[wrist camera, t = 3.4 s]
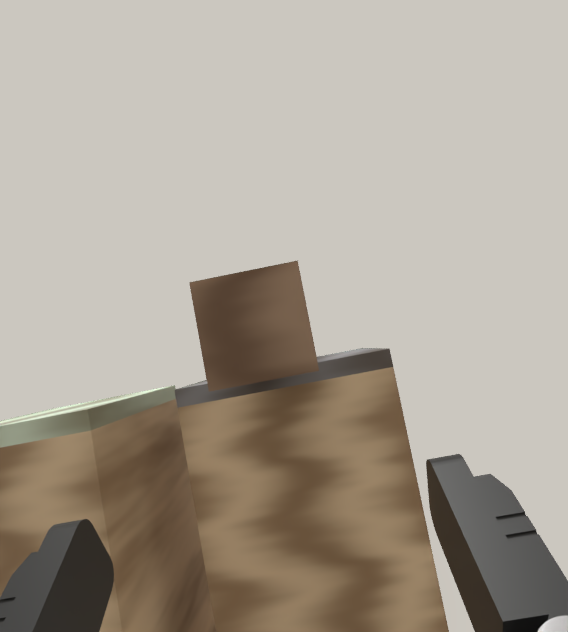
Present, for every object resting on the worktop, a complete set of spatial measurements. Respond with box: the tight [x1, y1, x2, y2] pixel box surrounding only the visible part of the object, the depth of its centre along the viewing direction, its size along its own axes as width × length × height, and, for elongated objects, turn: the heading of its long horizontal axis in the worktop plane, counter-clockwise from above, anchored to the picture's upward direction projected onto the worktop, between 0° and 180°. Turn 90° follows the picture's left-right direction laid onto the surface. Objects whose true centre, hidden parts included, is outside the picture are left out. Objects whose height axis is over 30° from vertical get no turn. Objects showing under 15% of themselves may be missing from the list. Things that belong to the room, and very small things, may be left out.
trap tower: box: [175, 348, 449, 632], centre depth 31 cm, size 12×14×32 cm
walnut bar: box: [190, 261, 319, 392], centre depth 29 cm, size 4×24×4 cm, turn 176°
